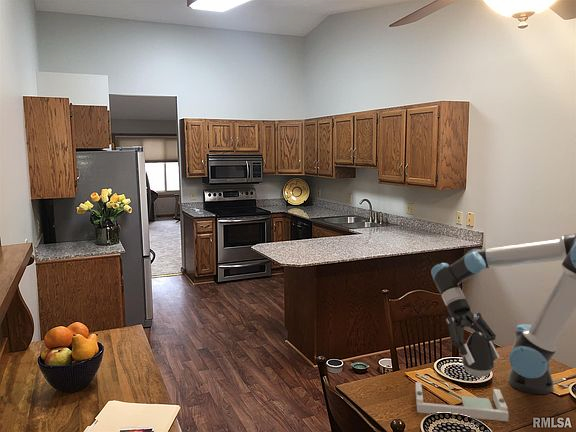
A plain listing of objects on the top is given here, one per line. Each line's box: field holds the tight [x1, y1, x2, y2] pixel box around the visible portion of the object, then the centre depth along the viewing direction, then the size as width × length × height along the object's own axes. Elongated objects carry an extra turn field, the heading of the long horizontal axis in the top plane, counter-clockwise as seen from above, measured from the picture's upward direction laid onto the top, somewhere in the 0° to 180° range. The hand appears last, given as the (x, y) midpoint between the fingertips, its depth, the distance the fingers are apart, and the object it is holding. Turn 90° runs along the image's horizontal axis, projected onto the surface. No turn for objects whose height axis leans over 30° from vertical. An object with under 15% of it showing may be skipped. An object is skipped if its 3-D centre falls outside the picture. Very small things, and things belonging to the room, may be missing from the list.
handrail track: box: [415, 381, 510, 422], centre depth 162 cm, size 29×14×5 cm, turn 77°
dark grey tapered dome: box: [461, 331, 496, 378], centre depth 159 cm, size 10×10×15 cm
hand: (484, 361), depth 157 cm, fingers closed on dark grey tapered dome, 9 cm apart
